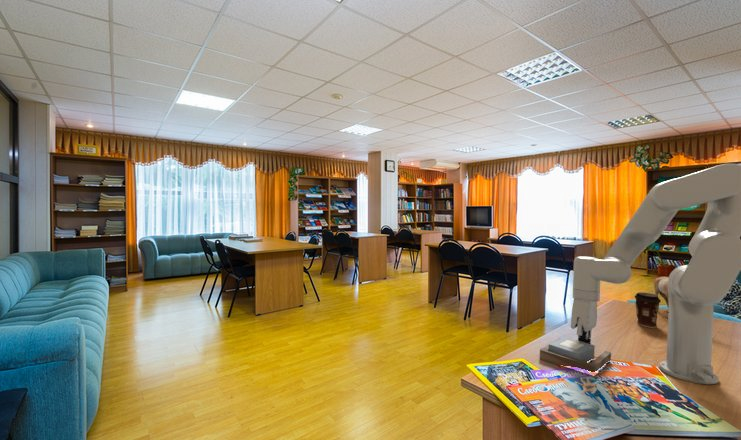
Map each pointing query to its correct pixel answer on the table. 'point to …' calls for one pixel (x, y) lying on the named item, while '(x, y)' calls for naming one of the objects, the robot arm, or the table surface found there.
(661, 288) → the horse figurine
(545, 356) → the display bay
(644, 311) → the coffee cup
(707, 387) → the table surface
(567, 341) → the carton
